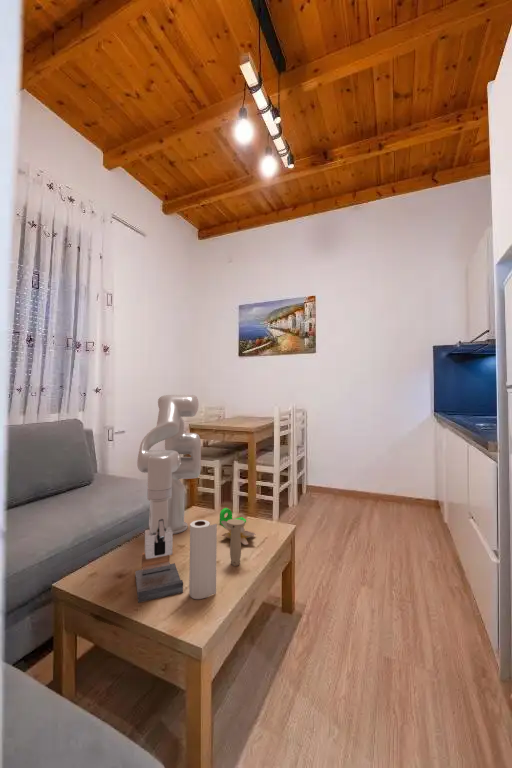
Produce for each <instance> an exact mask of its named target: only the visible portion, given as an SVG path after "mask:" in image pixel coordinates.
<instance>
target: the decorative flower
mask: <svg viewBox="0 0 512 768" xmlns="http://www.w3.org/2000/svg"><path fill="white" fill-rule="evenodd" d="M221 523H222V524H223V526H224V527H223V526H222V527H223V528H225V529H226V530H227V531H228V532H225V533H223V534H220V536H222V537H225V538H227V539H230V540H231V528H230V527H228V526H227V522H226V521H221ZM240 536H241V544H242V545H249V542H248V540H247V539H248V538H252V537H254V536H256V533H255V532H252V531H249V530H245V526H244V527H242V528H241V529H240Z"/></svg>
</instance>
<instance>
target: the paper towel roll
mask: <svg viewBox="0 0 512 768" xmlns="http://www.w3.org/2000/svg"><path fill="white" fill-rule="evenodd" d="M217 525H218V524H217V523H215V524H211V522H210V521H208V520H205V519H197V520H193V521H192V522H190V523H189V579H188V580H189V583H188V584H189V586H188V590H189V591H188V593H189V597H190V598H191V599H194V600H201V599H206V598H208V597H210V596H212V595H215V594H217V546H218V545H217V536H218V535H217V529H218V527H217Z"/></svg>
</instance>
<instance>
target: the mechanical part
mask: <svg viewBox="0 0 512 768" xmlns="http://www.w3.org/2000/svg"><path fill="white" fill-rule="evenodd" d="M225 515H226V516H225ZM230 519H233V512H232V510H231V509H229V508H228V507H224V508H222V509H221V510H220V512H219V524H220V525H221V526H222V527H223V528H225V527H224V526H223V524H222V523H221V521H226V522H227V521H228V520H230ZM235 519H239V520H243V521H245V524H246V523H247V519H246V518H244V517H243V516H240V517H236V518H235Z"/></svg>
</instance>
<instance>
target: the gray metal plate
mask: <svg viewBox="0 0 512 768" xmlns="http://www.w3.org/2000/svg"><path fill="white" fill-rule="evenodd" d="M170 565H171V569H167V570H162V571H157V572H152V573H147V574H142V569H139V570H135V573H134V574H135V585H136V594H137V603H143V602H147V601H152V600H156V599H160V598H166V597H169V596H173V595H177V594H182V593H184V581H183V579H181V578H180V573H179V571H178V568H177V565H176V563H175V562H174V563H170Z"/></svg>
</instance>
